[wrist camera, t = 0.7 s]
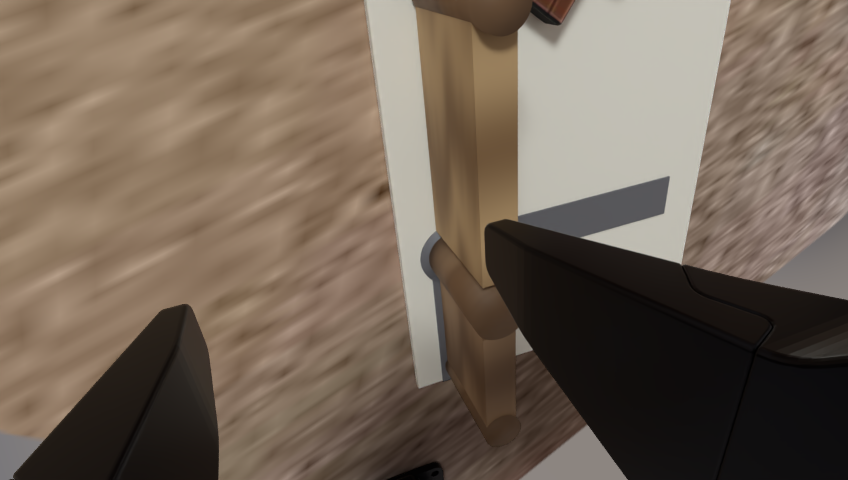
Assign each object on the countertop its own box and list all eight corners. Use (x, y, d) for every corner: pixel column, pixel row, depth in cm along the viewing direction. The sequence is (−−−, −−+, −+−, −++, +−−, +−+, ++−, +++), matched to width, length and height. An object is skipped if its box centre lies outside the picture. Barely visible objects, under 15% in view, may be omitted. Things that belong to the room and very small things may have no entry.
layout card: (669, 298, 33) (675, 303, 33) (416, 383, 29) (419, 389, 29) (735, -65, 23) (744, -65, 23) (361, -15, 19) (364, -15, 19)
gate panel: (469, 221, 25) (529, 285, 20) (432, 231, 24) (486, 297, 20) (454, -42, 19) (533, -38, 14) (407, -36, 19) (473, -30, 14)
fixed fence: (480, 366, 30) (526, 436, 25) (440, 379, 29) (480, 454, 25) (473, 226, 25) (528, 283, 21) (426, 238, 25) (472, 299, 20)
